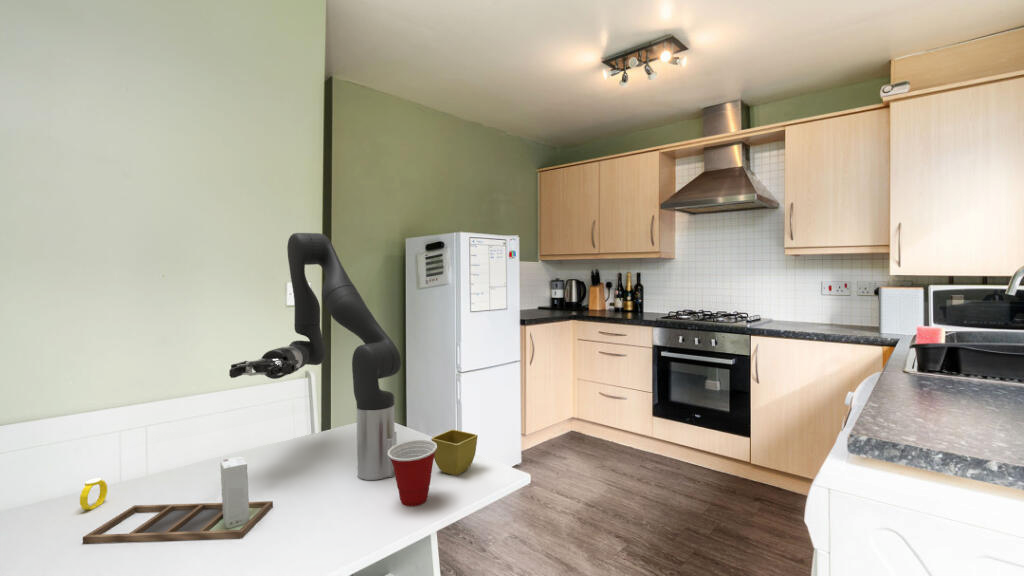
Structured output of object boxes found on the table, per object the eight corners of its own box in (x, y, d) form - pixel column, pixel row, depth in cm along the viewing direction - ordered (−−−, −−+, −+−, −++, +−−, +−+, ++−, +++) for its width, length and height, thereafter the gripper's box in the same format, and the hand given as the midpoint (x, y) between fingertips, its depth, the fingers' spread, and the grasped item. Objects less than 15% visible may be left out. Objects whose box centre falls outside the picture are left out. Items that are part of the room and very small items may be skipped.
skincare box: (250, 523, 94) (249, 463, 94) (224, 530, 91) (223, 468, 91) (245, 511, 98) (244, 454, 98) (220, 518, 96) (219, 459, 96)
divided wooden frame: (272, 506, 101) (272, 501, 101) (241, 538, 88) (241, 531, 88) (134, 511, 100) (134, 505, 100) (82, 543, 87) (82, 537, 87)
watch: (91, 514, 99) (88, 487, 99) (76, 515, 99) (74, 488, 99) (111, 499, 105) (109, 473, 105) (98, 500, 105) (96, 474, 105)
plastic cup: (378, 501, 103) (377, 447, 103) (418, 486, 111) (418, 435, 111) (406, 518, 95) (405, 460, 95) (447, 499, 103) (447, 446, 103)
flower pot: (479, 468, 121) (478, 434, 121) (457, 481, 113) (457, 444, 113) (452, 462, 125) (452, 429, 125) (430, 473, 118) (430, 438, 118)
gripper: (254, 348, 123) (218, 357, 107) (309, 347, 124) (281, 356, 108) (255, 376, 123) (219, 390, 107) (309, 375, 124) (282, 388, 108)
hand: (250, 373), depth 107 cm, fingers open, 8 cm apart
